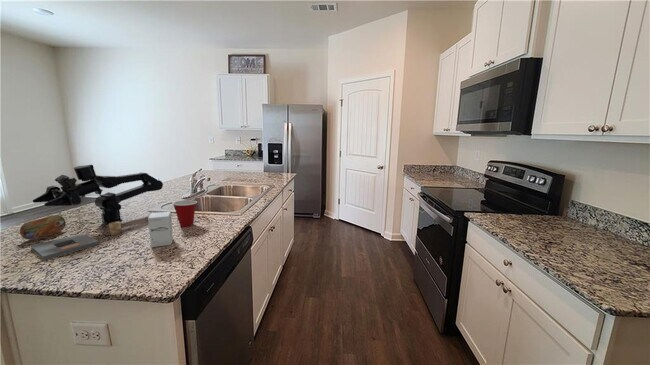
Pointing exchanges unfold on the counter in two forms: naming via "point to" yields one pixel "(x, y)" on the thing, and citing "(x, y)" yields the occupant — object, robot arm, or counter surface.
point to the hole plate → (52, 250)
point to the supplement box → (160, 229)
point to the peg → (115, 228)
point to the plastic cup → (185, 212)
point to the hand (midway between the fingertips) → (38, 203)
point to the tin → (42, 227)
